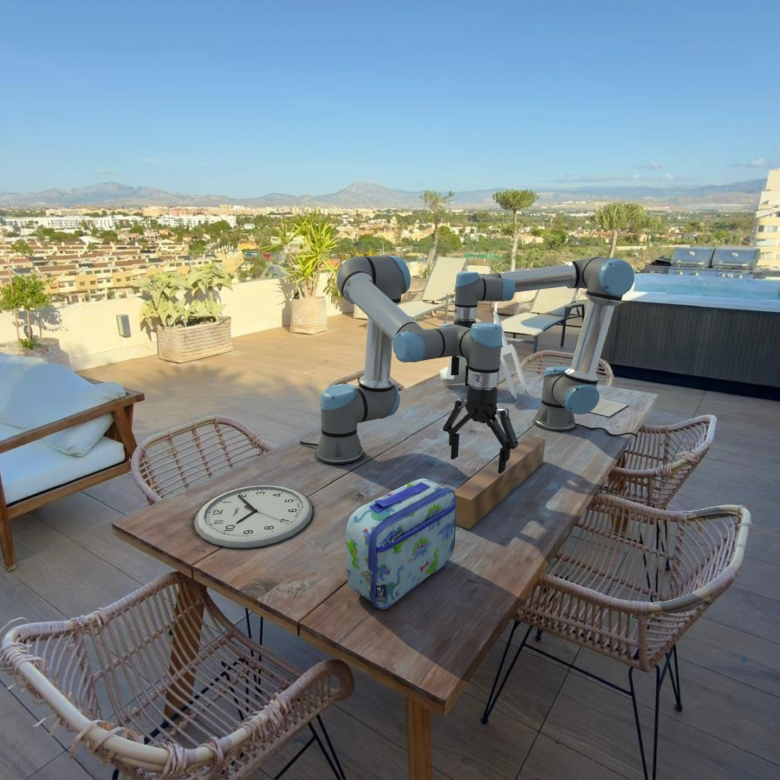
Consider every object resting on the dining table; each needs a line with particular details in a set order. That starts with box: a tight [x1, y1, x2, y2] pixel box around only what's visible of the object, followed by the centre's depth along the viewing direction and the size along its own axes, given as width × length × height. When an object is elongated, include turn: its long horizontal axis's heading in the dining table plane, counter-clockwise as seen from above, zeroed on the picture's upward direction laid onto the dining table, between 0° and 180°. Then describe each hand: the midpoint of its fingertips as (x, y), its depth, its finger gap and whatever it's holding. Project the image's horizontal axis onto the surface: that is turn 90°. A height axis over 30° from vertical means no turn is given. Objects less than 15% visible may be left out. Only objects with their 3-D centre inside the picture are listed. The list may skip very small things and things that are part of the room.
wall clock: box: [193, 484, 313, 549], centre depth 137 cm, size 30×2×30 cm
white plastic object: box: [438, 310, 531, 400], centre depth 245 cm, size 37×45×31 cm
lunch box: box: [345, 477, 457, 610], centre depth 110 cm, size 26×11×21 cm, turn 134°
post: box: [453, 434, 546, 530], centre depth 152 cm, size 50×6×8 cm, turn 143°
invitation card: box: [589, 397, 629, 418], centre depth 226 cm, size 21×1×15 cm
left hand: (477, 464), depth 136 cm, fingers open, 13 cm apart
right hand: (461, 380), depth 180 cm, fingers open, 13 cm apart
